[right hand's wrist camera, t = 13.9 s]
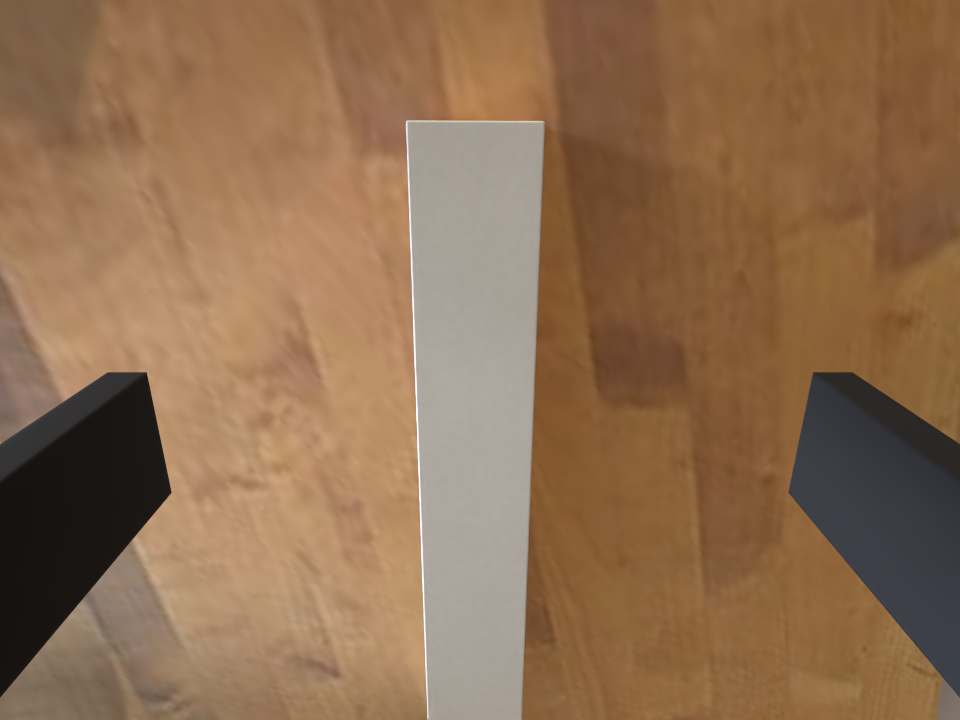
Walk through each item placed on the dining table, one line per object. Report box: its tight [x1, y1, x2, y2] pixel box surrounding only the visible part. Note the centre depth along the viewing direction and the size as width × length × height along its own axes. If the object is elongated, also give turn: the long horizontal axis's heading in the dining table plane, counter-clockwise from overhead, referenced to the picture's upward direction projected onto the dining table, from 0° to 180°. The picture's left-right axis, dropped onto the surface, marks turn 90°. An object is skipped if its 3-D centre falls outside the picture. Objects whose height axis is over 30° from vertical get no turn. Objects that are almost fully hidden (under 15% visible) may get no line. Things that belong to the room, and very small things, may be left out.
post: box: [406, 121, 545, 720], centre depth 37 cm, size 61×5×7 cm, turn 0°
